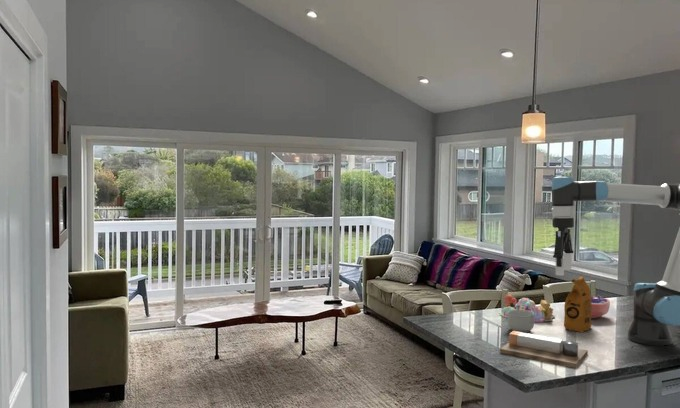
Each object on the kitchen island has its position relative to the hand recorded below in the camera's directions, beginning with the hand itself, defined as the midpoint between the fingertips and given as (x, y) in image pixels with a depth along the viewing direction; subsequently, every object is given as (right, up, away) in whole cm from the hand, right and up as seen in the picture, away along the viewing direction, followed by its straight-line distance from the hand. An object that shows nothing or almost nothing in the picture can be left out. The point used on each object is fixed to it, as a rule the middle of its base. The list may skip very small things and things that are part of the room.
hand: (563, 272), depth 196 cm
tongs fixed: (-11, -27, -8) cm, 30 cm away
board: (-11, -29, -8) cm, 32 cm away
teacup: (-9, -28, +23) cm, 37 cm away
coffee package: (+17, -28, +26) cm, 42 cm away
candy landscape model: (+3, -27, +47) cm, 54 cm away
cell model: (+32, -27, +46) cm, 62 cm away
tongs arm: (-14, -27, -7) cm, 31 cm away
